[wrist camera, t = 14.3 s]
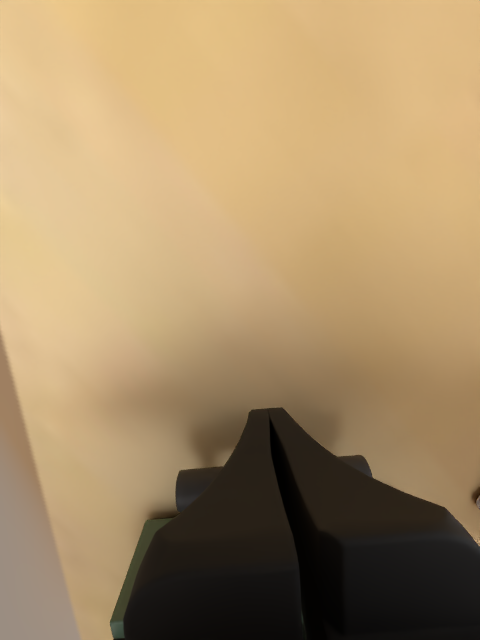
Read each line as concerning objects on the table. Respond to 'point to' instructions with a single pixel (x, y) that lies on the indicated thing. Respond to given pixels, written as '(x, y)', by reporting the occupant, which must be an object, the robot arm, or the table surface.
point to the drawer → (186, 492)
